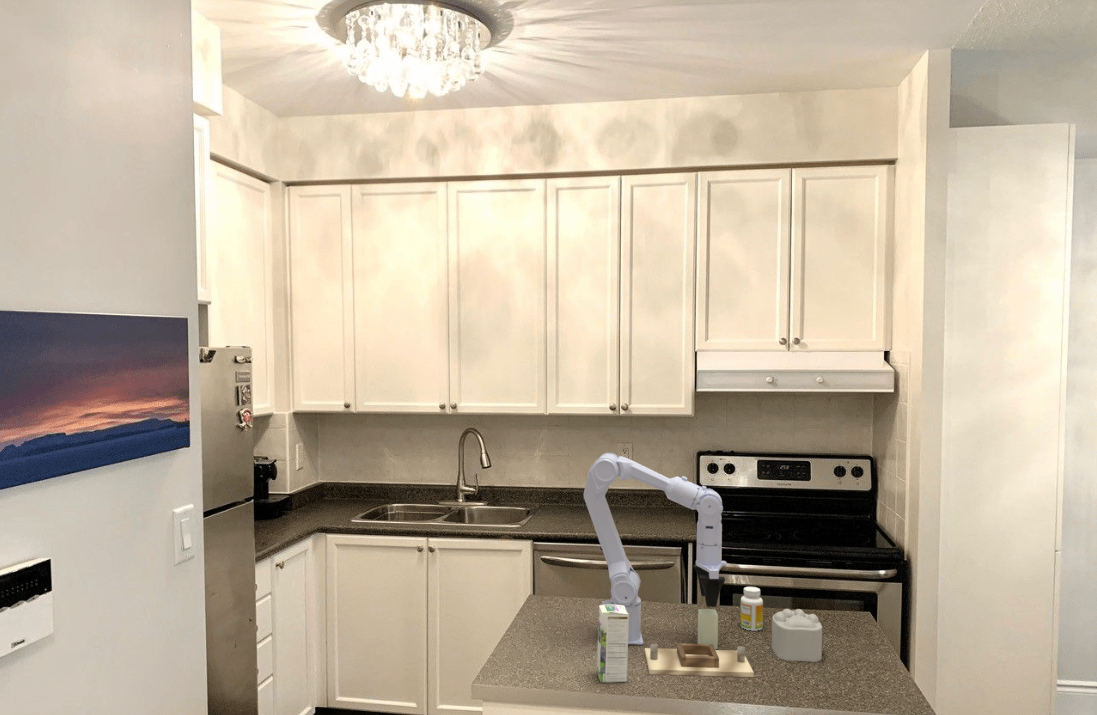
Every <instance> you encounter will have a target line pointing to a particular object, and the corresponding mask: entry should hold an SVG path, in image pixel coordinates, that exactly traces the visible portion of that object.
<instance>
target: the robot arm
mask: <svg viewBox="0 0 1097 715" xmlns="http://www.w3.org/2000/svg"><path fill="white" fill-rule="evenodd" d="M618 477H619V482H622V481H626V480H632V479H633V480H636V481H638V482H639V483H643V484H646V485H648V486H650V487H653V488H655V489H658V490H659V491H660V490H661V491H663V492H664V493H665V495H666V497H667V499H668V500H670V501H672V502H674V503H677V504H679V505H681V506H684V507H685V508H687V509H690V510H696V511H697V512H698V516H697V517H698V518H697V519H698V520H697V523H696V560H695V564H693V568H694V570H695V572H696V575H697V580H698V584H699V585H698V586H699V591H700V596H701V597H704V600H705V604H706V607H707V608H709V607H710V608H716V607H717V605H718V601H719V595H720V592H721V590H722V587H723V585H724V583H725V582H726V578H725V576H719V575H720V574H719V573H720V570H721V569H722V568H723V567H726V566H727V564H728V563H727V561H726V560H722V559H723V558H722V552H723V551H722V550H723V549H722V546H723V545H722V544H723V541H722V540H723V538H722V537H723V534H722V532H723V524H722V513H723V510H724V506H723V500H722V497H721V496H720V494H719V493H718V492H717V491H715V490H714V489H713V488H707V486H705V485H702V486H700V485H698V484H696V483H693V482H691V481H688V477H686V476H685V475H682V476H681V477H680V476H674V477H671V478H669V477H667V476H665V475H663V474H661V473H659V472H657V471H655V470H653V469H652V468H651V469H650V468H649V467H647V466H644V465H642V464H640V463H638V462H636V461H635V460H632V459H630V458H628V457H626V456H625V457H624V456H622V455H621V456H619V455H618V454H615V452H614V453H613V452H605V453H603V454H601V455H600V456H599V457H598V458H597V459H596V460H595V461H594V462H593V464H592V465H591V467H590V468H589V469H588V472H587V477H586V482H585V487H584V490H583V499H584V502H585V505H586V507H587V511H588V513H589V516H590V519H591V521H592V522H591V523H592V525H593V527H594V528H593V529H594V531H595V532H596V536H597V539H598V542H599V544H600V548H601V550H602V552H603V555H604V558H605V562H606V564H607V568H608V575H609V576H608V578H609V580H610V595H611V597H610V599H609V600H602V602H601V605H623V606H625V608H626V610H627V612H628V614H629V625H628V645H638V646H639V645H640V646H642V645H644V640H643V635H642V631H641V627H642V626H641V622H642V621H641V617H642V616H641V615H642V599H641V598H640V597H639V595H638V594H639V589H640V587H641V584H642V582H641V581H642V580H641V577H640V575H639V573H637V571H636V570H634V568H633V566H632V563H631V561H630V560H629V559H628V556H627V554H626V551H625V549H624V546H623V543H622V541H621V537H620V535H619V532H618V529H617V527H616V524H615V521H614V518H613V515H612V512H611V509H610V506H609V504H608V501H607V498H606V494H607V492H608V490H609V488H610V487H611V486H612V484H613V483H614V482H615V481H616V480H617V478H618Z"/></svg>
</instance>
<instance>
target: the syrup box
mask: <svg viewBox="0 0 1097 715" xmlns="http://www.w3.org/2000/svg"><path fill="white" fill-rule="evenodd" d="M628 625H629V614H628V612H627V610H626V608H625V606H623V605H602V604H600V605H599V606H598V628H597V631H598V632H597V657H596V658H597V661H596V664H597V665H596V672H597V675H598V679H599V682H600V683H604V684H605V683H626V682H628V660H629V659H628V658H629V644H628Z"/></svg>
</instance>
